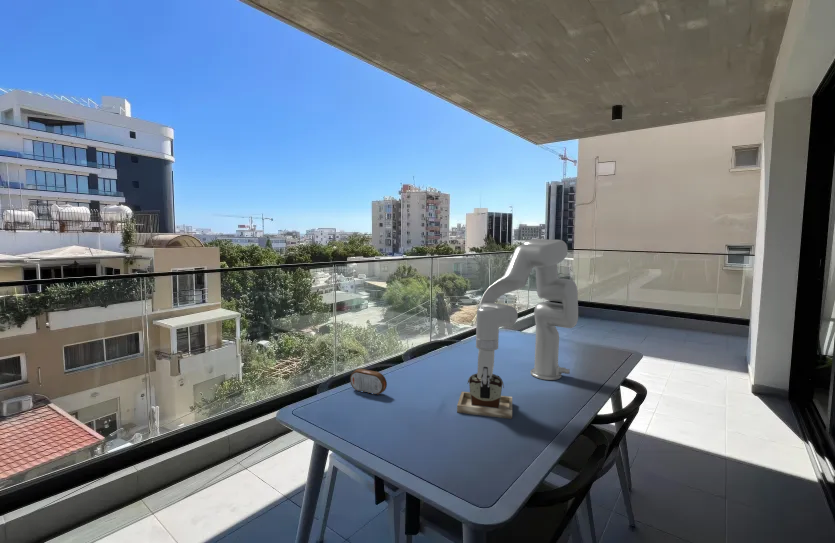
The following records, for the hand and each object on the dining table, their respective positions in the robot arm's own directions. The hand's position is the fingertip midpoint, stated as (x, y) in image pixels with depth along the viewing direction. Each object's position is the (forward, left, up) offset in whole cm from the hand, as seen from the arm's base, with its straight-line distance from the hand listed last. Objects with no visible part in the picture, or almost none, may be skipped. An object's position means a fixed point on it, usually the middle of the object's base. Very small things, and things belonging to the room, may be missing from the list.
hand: (485, 392), depth 134 cm
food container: (0, -2, -5) cm, 5 cm away
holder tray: (0, 0, -6) cm, 6 cm away
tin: (+44, -2, -6) cm, 44 cm away
